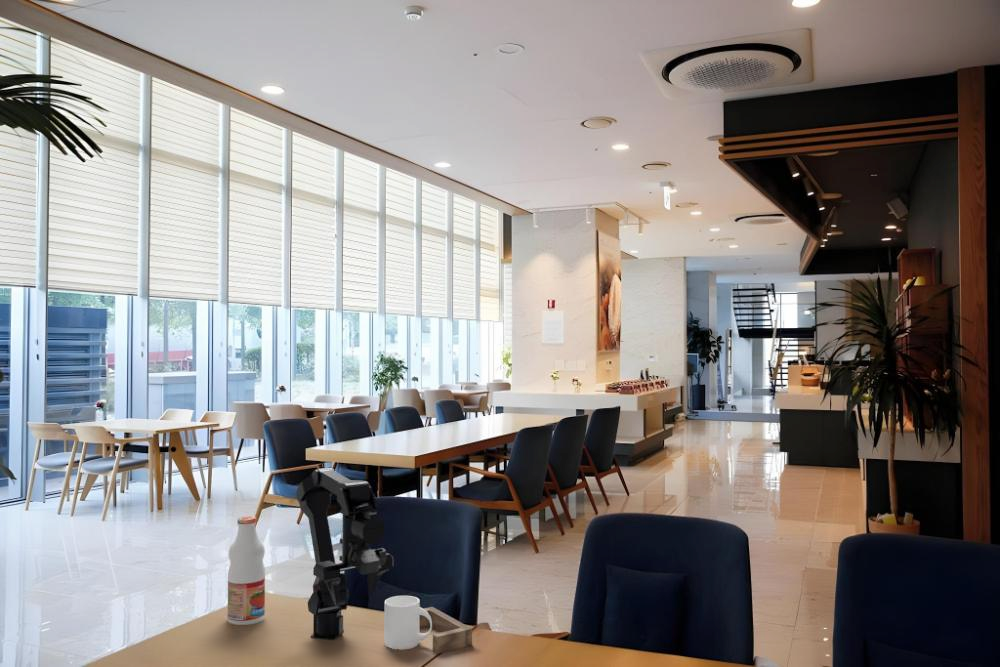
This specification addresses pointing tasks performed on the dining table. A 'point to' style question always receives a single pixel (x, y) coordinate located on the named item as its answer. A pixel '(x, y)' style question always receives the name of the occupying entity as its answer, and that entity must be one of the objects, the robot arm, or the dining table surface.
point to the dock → (446, 631)
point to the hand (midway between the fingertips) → (353, 601)
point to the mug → (403, 622)
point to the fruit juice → (246, 576)
